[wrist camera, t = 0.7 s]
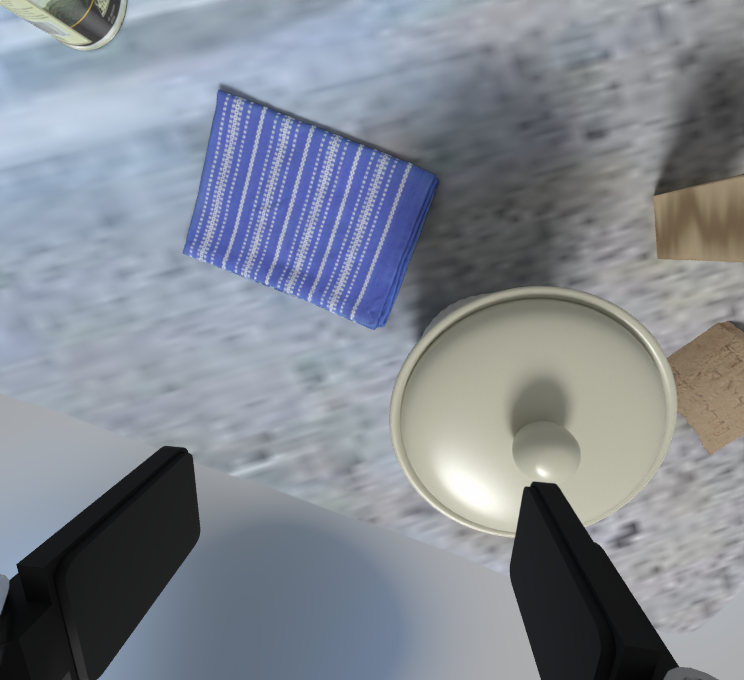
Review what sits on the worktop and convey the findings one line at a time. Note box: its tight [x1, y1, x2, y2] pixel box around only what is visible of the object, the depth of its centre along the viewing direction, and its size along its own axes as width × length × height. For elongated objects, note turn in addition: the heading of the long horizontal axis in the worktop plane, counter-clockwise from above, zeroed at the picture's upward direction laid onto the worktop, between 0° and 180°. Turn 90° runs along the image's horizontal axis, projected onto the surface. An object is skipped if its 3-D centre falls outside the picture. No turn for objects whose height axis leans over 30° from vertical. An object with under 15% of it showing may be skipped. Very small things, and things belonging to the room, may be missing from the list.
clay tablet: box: [667, 321, 744, 455], centre depth 36 cm, size 14×10×3 cm
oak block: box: [653, 174, 744, 262], centre depth 29 cm, size 6×5×10 cm
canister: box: [389, 286, 677, 538], centre depth 29 cm, size 18×18×21 cm
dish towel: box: [183, 90, 439, 330], centre depth 36 cm, size 17×24×3 cm
